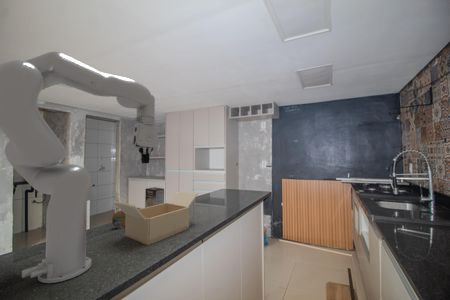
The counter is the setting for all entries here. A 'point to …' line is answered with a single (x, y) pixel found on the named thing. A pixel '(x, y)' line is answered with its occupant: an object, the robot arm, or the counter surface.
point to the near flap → (130, 210)
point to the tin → (119, 219)
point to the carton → (157, 223)
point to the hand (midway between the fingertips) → (145, 163)
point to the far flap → (183, 199)
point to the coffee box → (154, 196)
